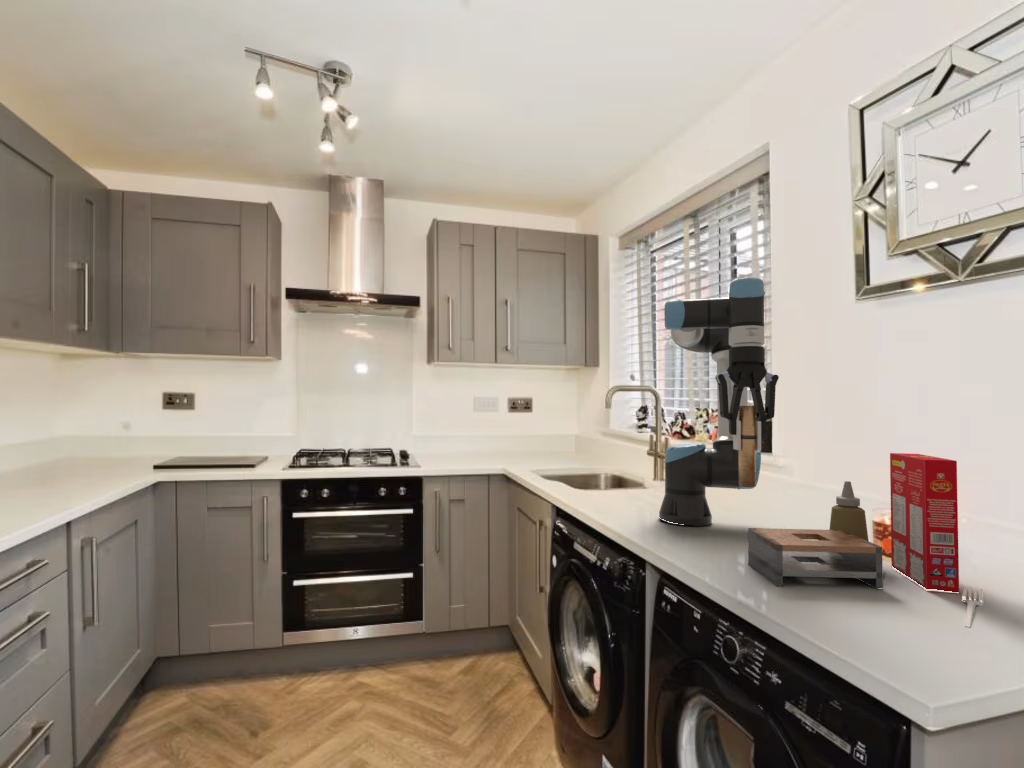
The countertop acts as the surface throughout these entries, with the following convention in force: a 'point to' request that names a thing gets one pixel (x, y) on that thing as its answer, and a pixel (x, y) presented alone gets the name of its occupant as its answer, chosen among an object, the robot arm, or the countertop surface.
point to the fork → (971, 605)
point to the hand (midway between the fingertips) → (747, 449)
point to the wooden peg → (747, 447)
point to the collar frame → (813, 555)
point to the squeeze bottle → (849, 514)
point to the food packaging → (925, 519)
